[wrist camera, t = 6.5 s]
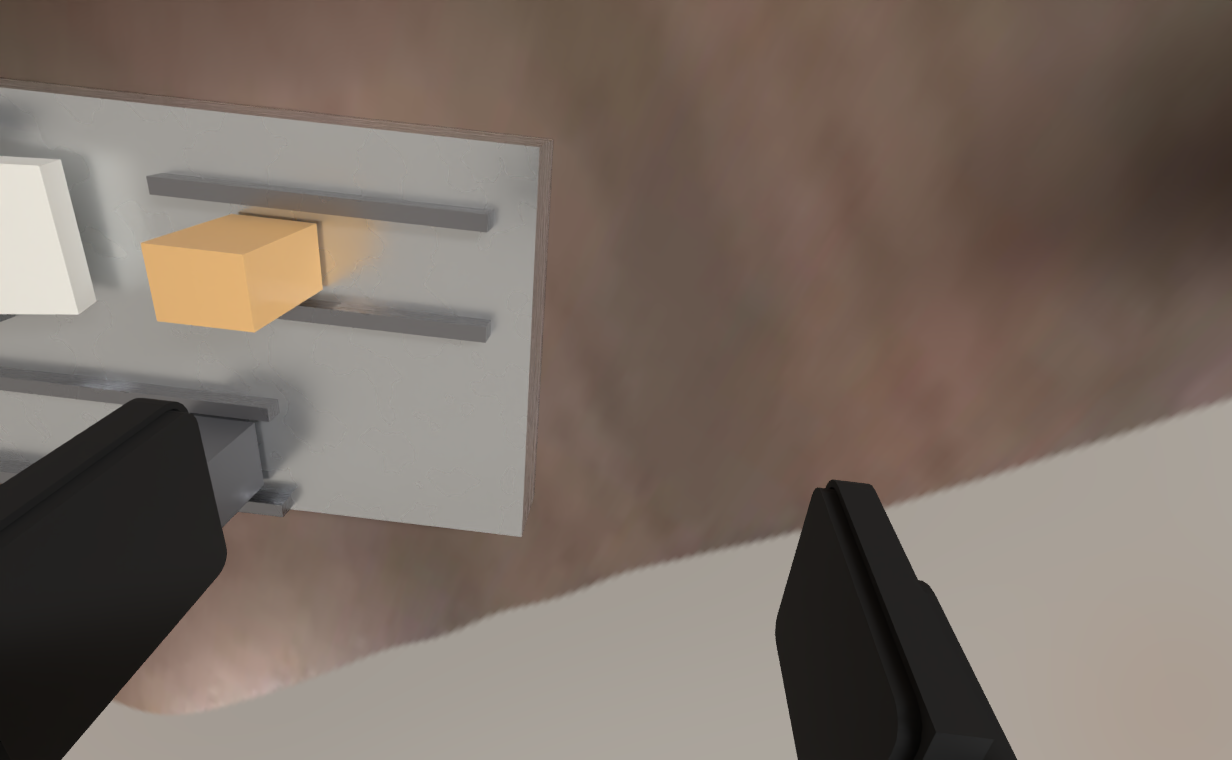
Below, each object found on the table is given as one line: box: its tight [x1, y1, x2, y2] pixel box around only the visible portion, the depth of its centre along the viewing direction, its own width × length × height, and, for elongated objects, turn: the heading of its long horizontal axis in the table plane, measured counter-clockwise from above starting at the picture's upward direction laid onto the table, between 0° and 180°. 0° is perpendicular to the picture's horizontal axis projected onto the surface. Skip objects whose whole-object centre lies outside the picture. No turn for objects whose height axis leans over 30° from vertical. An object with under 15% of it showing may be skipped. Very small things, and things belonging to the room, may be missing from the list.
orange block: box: [140, 214, 323, 333], centre depth 21 cm, size 2×3×4 cm
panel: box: [0, 78, 553, 537], centre depth 25 cm, size 16×27×6 cm, turn 84°
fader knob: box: [195, 416, 264, 527], centre depth 25 cm, size 3×3×4 cm
